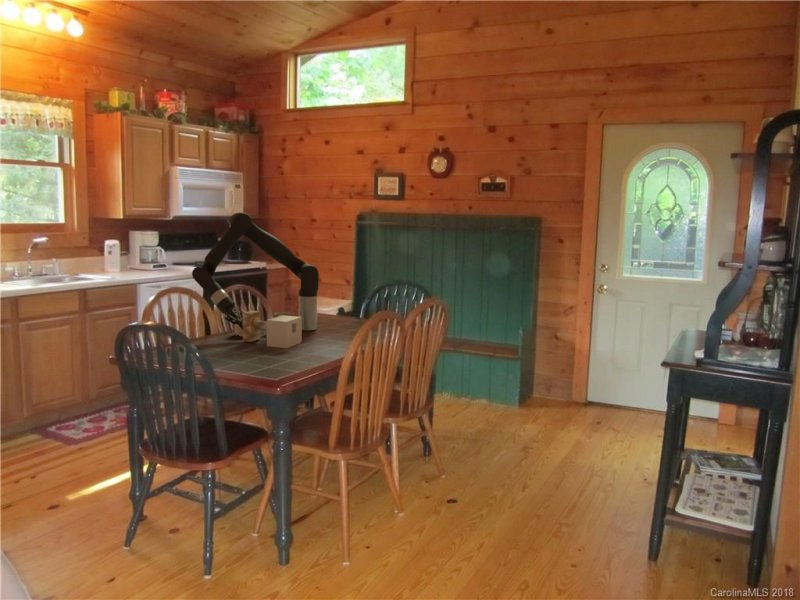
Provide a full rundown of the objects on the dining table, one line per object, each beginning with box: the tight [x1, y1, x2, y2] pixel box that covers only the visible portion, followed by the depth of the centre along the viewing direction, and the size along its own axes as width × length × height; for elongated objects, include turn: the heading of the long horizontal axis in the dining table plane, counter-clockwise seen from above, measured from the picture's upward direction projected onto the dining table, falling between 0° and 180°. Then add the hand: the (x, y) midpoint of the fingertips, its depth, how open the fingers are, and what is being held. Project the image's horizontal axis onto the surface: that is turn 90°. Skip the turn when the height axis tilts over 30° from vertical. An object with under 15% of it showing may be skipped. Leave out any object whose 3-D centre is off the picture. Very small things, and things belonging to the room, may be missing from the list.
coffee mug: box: [266, 311, 295, 321], centre depth 322 cm, size 13×10×10 cm
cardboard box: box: [266, 315, 303, 349], centre depth 297 cm, size 10×14×12 cm
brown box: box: [242, 310, 267, 343], centre depth 301 cm, size 15×8×13 cm, turn 70°
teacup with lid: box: [234, 310, 247, 336], centre depth 319 cm, size 12×9×12 cm
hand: (245, 329), depth 304 cm, fingers closed
